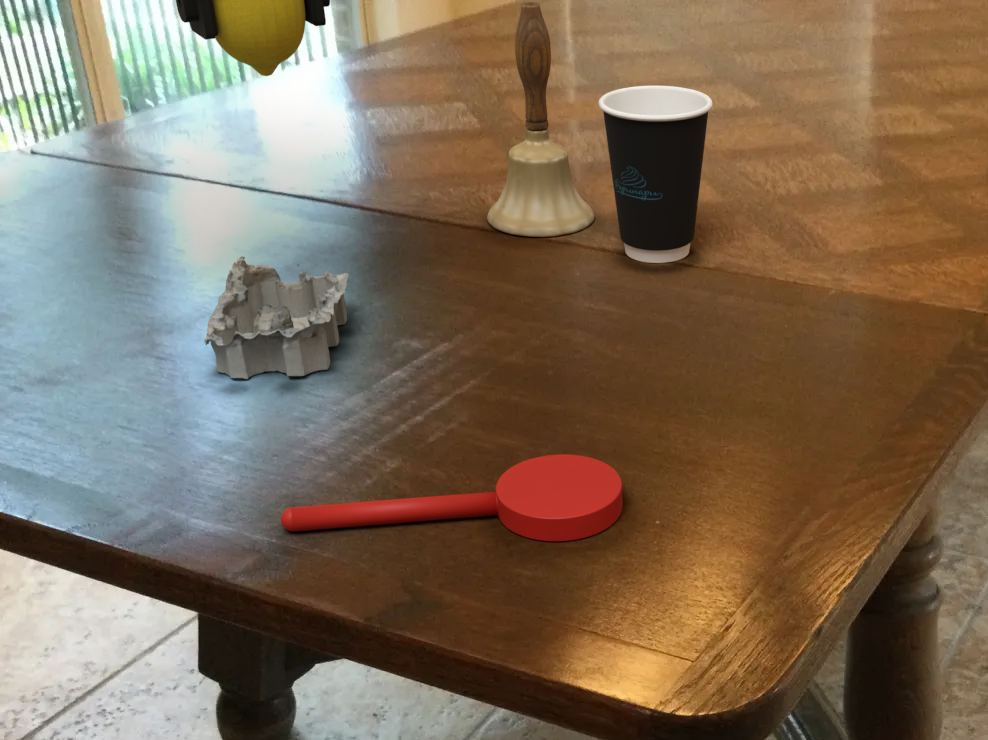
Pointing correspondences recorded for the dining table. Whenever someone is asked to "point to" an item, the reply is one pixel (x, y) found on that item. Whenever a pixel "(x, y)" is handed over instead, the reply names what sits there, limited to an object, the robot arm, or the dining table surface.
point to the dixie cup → (656, 166)
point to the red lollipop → (498, 502)
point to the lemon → (260, 30)
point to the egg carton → (276, 321)
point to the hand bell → (537, 151)
